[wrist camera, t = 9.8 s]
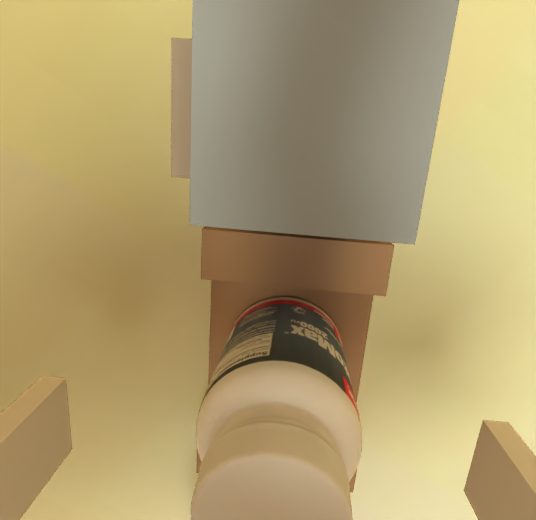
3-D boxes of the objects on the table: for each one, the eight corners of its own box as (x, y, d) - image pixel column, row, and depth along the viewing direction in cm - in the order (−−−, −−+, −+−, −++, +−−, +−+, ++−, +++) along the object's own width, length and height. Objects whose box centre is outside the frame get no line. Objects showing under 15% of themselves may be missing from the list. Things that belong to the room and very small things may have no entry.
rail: (207, 552, 23) (150, 798, 14) (227, -17, 15) (123, -262, 6) (325, 568, 23) (341, 831, 14) (412, -8, 15) (589, -259, 6)
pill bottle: (364, 360, 18) (426, 556, 9) (273, 413, 19) (252, 631, 10) (297, 271, 17) (296, 395, 8) (206, 332, 18) (122, 497, 9)
